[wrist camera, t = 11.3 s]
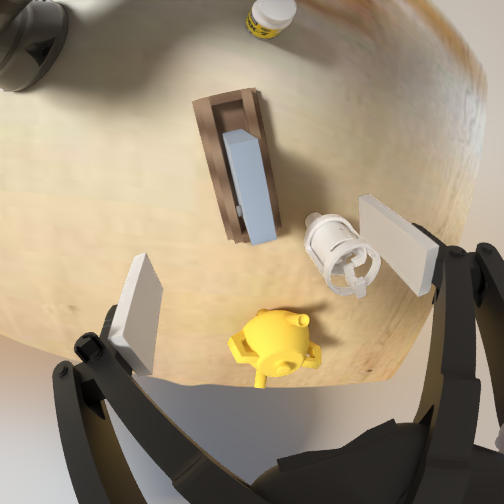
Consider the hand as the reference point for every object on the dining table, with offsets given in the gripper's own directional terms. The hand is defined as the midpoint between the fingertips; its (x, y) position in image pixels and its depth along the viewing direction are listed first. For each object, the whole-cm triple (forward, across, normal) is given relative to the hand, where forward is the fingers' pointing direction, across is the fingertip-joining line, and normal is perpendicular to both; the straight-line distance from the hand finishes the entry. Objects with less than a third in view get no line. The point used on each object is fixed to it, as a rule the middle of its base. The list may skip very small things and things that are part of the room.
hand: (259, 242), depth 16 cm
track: (+23, +1, -1) cm, 23 cm away
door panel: (+22, +1, -1) cm, 22 cm away
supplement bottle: (+23, +9, +18) cm, 31 cm away
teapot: (+23, 0, -31) cm, 39 cm away
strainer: (+23, +10, -12) cm, 28 cm away
